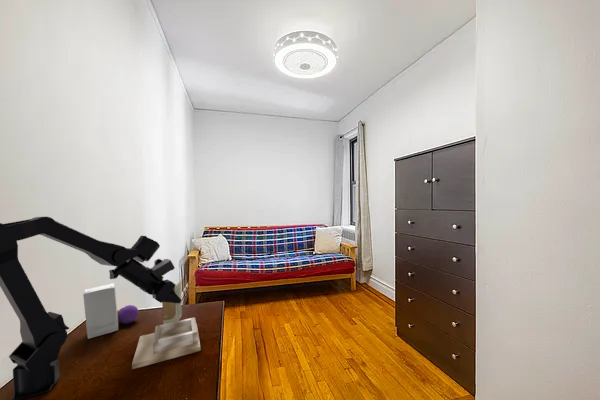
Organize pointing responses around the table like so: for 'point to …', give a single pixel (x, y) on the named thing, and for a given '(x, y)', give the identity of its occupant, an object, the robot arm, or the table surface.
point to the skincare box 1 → (100, 310)
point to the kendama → (127, 314)
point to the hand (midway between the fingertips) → (176, 299)
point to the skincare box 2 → (172, 307)
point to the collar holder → (167, 343)
